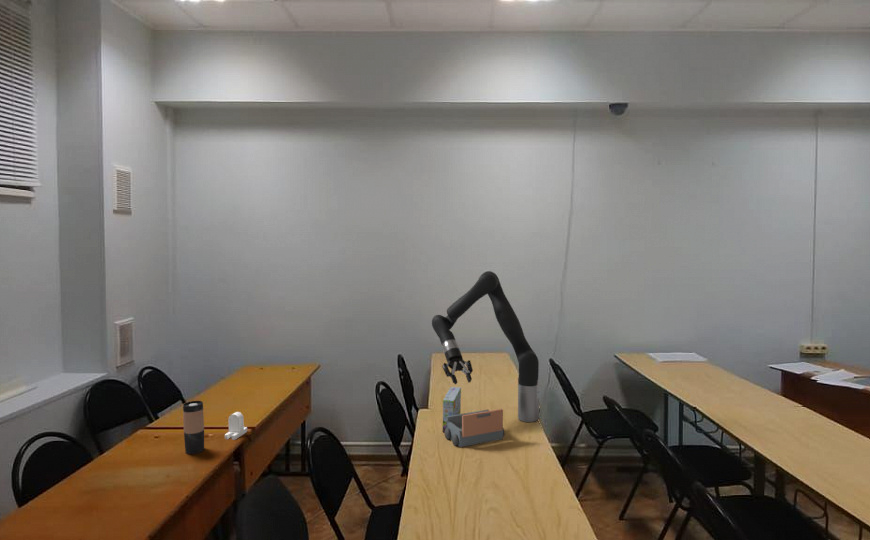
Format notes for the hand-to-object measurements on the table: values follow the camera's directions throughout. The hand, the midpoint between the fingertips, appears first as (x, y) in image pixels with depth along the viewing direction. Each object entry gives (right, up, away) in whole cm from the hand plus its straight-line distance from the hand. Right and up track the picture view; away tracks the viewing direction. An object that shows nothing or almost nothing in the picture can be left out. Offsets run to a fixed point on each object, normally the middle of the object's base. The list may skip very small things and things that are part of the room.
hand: (463, 382), depth 234 cm
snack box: (-5, -22, +8) cm, 24 cm away
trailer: (+5, -22, -8) cm, 24 cm away
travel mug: (-113, -24, -20) cm, 117 cm away
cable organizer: (-102, -23, -3) cm, 105 cm away
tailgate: (+7, -18, -16) cm, 25 cm away
